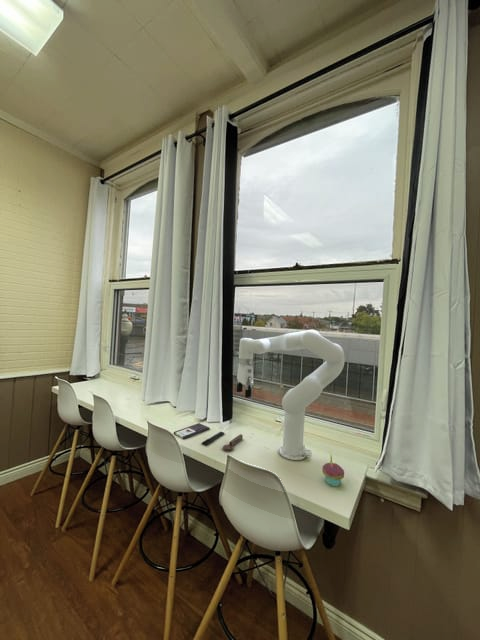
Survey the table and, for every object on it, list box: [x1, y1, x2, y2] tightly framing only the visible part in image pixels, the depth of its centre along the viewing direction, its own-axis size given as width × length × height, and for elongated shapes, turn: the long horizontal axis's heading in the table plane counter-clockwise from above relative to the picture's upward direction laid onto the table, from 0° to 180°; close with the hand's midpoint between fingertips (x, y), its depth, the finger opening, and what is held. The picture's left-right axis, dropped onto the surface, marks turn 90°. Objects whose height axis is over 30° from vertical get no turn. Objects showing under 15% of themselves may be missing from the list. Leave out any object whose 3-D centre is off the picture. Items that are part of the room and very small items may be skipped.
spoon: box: [222, 433, 244, 453], centre depth 134 cm, size 16×5×3 cm, turn 150°
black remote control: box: [201, 431, 225, 447], centre depth 140 cm, size 17×3×1 cm, turn 150°
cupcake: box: [321, 454, 345, 487], centre depth 107 cm, size 9×8×12 cm
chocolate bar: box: [173, 422, 210, 440], centre depth 147 cm, size 9×1×18 cm
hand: (243, 394), depth 138 cm, fingers open, 9 cm apart
